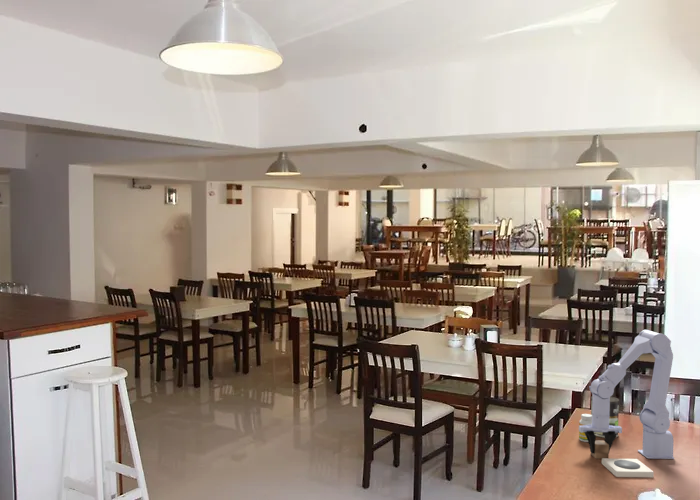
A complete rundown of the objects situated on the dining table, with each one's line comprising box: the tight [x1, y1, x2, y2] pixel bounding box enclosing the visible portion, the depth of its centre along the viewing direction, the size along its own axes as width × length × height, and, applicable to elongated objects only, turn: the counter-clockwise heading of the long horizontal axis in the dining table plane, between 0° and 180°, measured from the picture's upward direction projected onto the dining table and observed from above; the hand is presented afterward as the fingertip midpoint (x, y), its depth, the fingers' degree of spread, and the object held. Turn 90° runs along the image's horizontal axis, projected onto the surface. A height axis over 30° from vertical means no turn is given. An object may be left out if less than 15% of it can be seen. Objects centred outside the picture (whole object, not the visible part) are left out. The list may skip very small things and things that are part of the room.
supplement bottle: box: [578, 413, 592, 443], centre depth 246 cm, size 5×5×10 cm
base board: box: [601, 457, 655, 478], centre depth 216 cm, size 12×12×2 cm
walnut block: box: [590, 440, 610, 460], centre depth 228 cm, size 4×4×5 cm
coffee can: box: [590, 396, 620, 439], centre depth 254 cm, size 10×10×14 cm
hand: (599, 452), depth 228 cm, fingers closed on walnut block, 4 cm apart
